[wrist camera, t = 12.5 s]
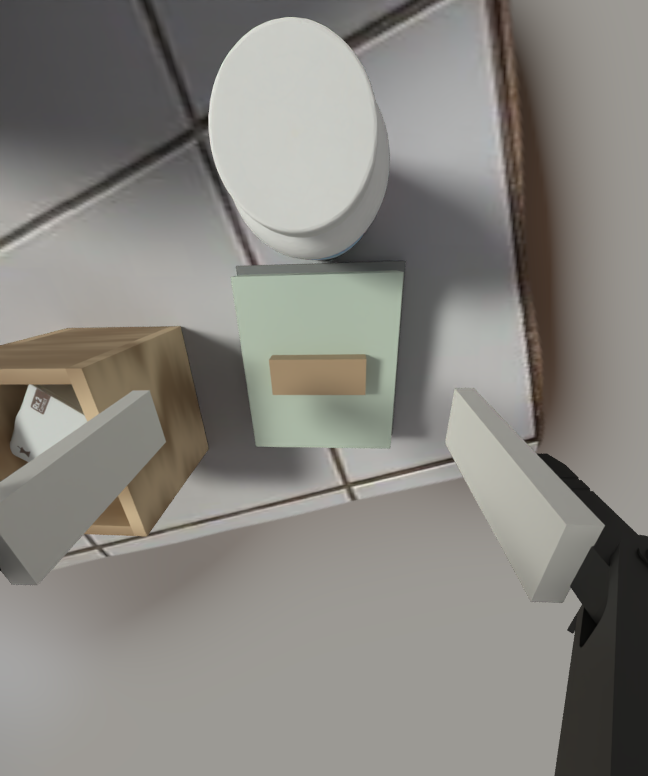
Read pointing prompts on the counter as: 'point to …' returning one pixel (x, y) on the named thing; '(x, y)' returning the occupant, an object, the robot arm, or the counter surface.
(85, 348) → the box
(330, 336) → the lid
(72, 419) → the skincare box
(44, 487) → the robot arm
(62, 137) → the counter surface
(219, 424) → the counter surface
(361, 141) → the pill bottle
